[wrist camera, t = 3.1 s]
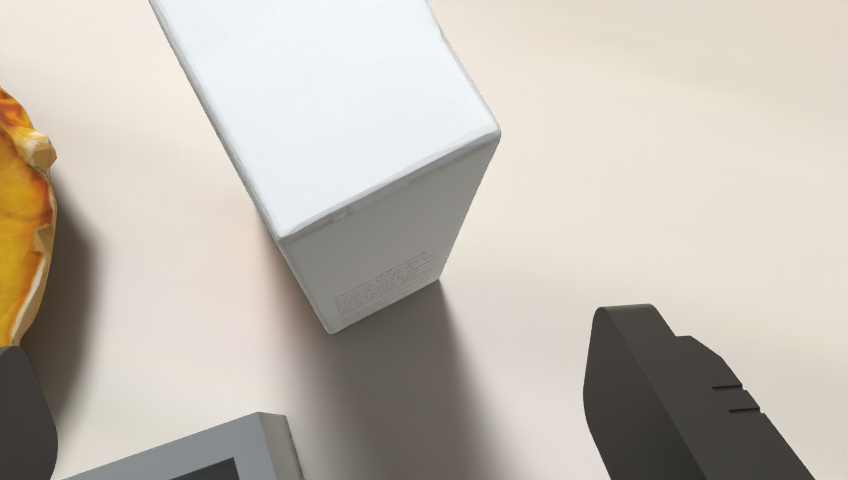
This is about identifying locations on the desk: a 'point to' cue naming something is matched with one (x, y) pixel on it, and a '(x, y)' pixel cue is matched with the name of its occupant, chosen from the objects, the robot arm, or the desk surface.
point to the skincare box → (341, 136)
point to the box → (214, 455)
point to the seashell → (23, 219)
